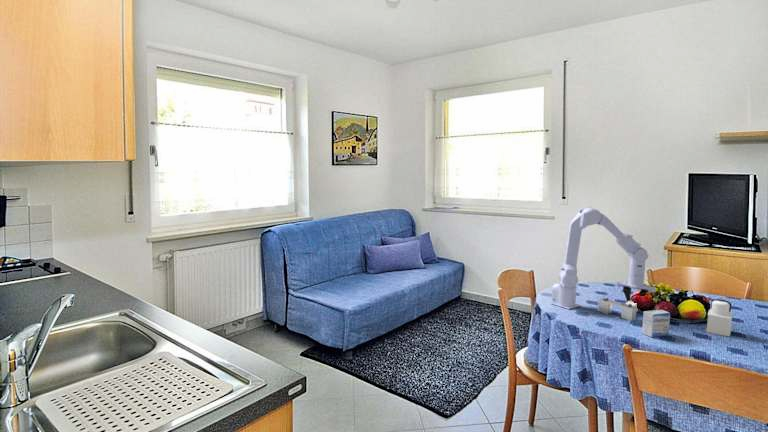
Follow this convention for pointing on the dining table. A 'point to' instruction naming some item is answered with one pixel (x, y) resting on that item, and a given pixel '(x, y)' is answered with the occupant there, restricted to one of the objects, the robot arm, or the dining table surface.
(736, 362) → the dining table surface
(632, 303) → the cream rectangular bar
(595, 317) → the dining table surface
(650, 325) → the medicine box
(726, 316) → the medicine bottle
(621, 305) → the bearing block
